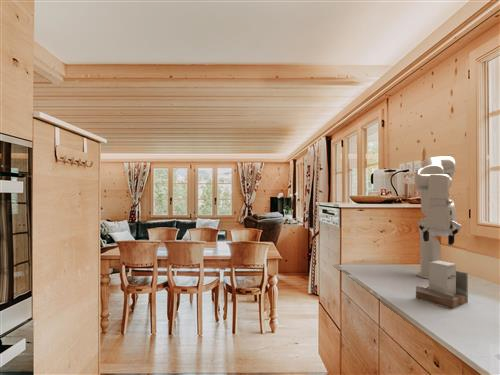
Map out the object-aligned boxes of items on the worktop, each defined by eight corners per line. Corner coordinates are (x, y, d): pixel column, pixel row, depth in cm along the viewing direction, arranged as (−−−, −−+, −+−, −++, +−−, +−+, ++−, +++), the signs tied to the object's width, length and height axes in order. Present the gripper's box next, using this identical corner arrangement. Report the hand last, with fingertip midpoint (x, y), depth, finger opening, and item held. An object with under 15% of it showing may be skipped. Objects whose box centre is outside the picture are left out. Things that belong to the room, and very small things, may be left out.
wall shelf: (431, 292, 137) (431, 265, 137) (467, 301, 126) (467, 272, 126) (415, 298, 129) (415, 269, 129) (452, 308, 118) (452, 277, 118)
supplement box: (446, 297, 122) (446, 265, 123) (428, 291, 129) (428, 261, 129) (456, 294, 126) (456, 263, 126) (438, 289, 132) (438, 260, 133)
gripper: (465, 203, 126) (465, 245, 126) (421, 201, 140) (421, 238, 140) (457, 204, 121) (457, 247, 121) (413, 202, 135) (413, 240, 136)
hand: (438, 242), depth 131 cm, fingers open, 9 cm apart
